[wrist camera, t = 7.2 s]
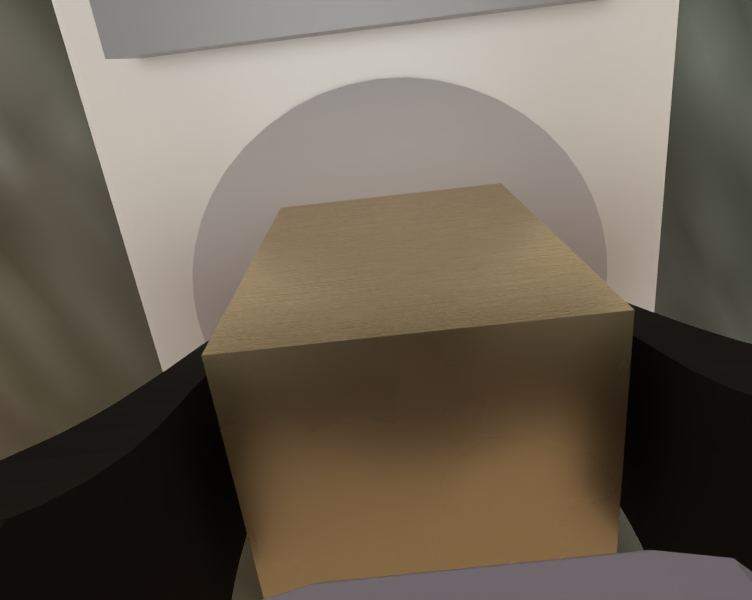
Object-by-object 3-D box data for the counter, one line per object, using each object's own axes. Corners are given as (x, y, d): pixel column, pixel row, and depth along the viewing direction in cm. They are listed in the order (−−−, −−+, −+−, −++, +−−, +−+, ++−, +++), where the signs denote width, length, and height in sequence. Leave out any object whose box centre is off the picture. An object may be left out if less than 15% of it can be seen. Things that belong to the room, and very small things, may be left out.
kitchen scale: (616, 401, 18) (703, 523, 14) (213, 444, 19) (161, 577, 14) (648, -182, 13) (821, -326, 8) (63, -103, 13) (-113, -194, 8)
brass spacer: (505, 375, 15) (611, 616, 9) (313, 394, 15) (276, 647, 9) (501, 183, 13) (634, 309, 7) (280, 207, 13) (201, 355, 7)
